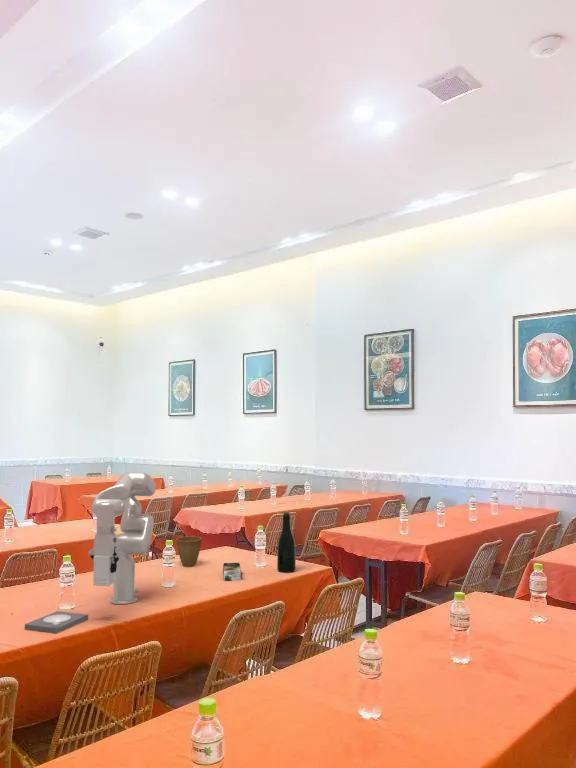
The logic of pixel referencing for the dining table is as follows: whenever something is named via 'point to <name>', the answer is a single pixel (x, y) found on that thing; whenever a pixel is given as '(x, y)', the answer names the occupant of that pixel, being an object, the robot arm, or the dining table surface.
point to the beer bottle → (286, 547)
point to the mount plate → (56, 621)
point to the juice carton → (231, 571)
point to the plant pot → (189, 550)
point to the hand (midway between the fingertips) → (105, 571)
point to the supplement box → (103, 571)
